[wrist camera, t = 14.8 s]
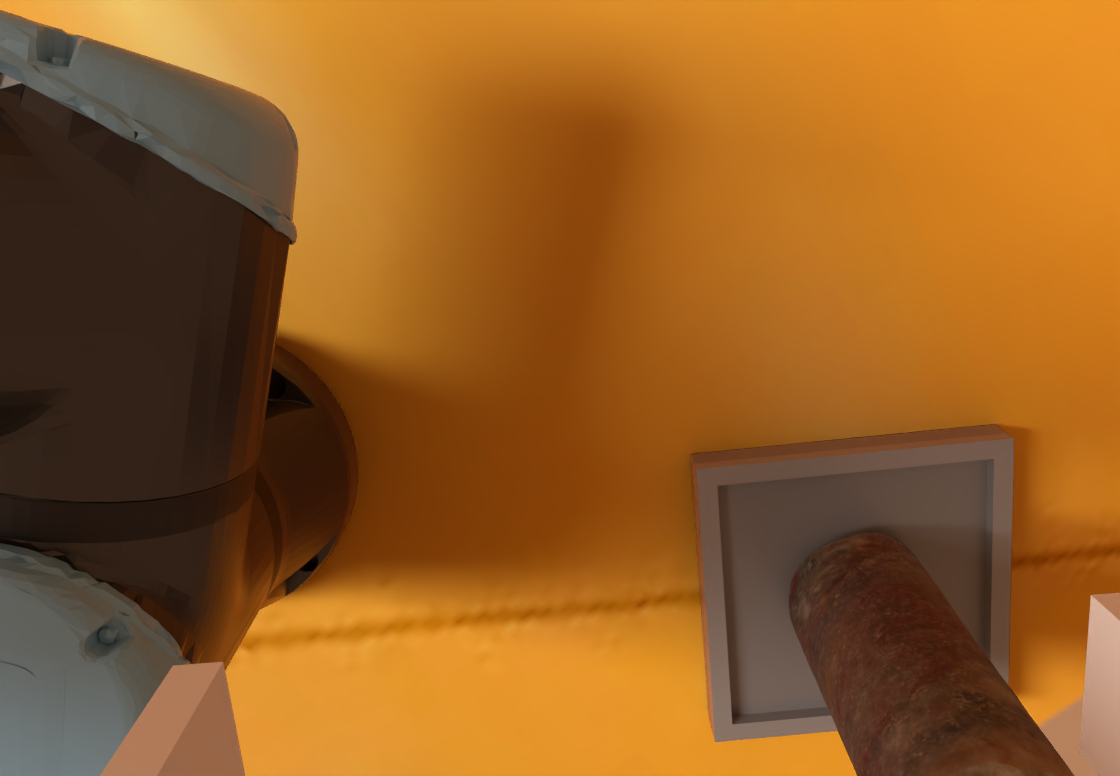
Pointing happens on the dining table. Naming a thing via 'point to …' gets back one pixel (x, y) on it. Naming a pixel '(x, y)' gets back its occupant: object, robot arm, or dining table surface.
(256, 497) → the robot arm
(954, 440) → the tray
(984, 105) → the dining table surface
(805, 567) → the brown cylinder
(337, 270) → the dining table surface
